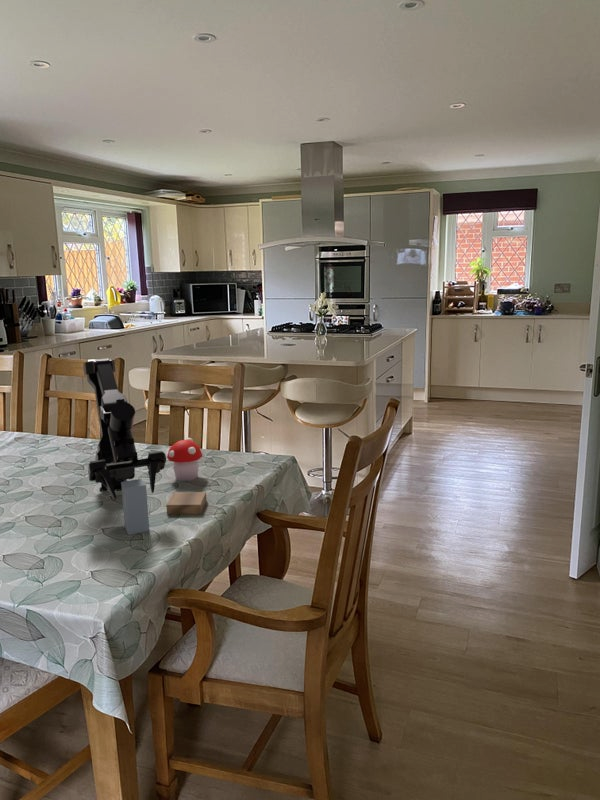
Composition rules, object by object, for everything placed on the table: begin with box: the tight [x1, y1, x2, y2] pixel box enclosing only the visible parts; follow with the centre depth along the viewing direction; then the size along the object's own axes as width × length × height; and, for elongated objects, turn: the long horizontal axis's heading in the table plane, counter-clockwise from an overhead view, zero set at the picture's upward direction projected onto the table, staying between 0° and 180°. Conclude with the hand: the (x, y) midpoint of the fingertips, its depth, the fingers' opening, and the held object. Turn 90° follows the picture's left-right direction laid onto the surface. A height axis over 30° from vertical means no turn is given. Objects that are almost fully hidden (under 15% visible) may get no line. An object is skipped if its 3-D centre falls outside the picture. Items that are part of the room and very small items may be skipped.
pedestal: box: [166, 491, 208, 515], centre depth 162 cm, size 9×9×3 cm
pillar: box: [121, 478, 150, 536], centre depth 147 cm, size 5×5×12 cm
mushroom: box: [166, 437, 203, 482], centre depth 184 cm, size 11×11×12 cm
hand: (134, 495), depth 147 cm, fingers open, 9 cm apart
